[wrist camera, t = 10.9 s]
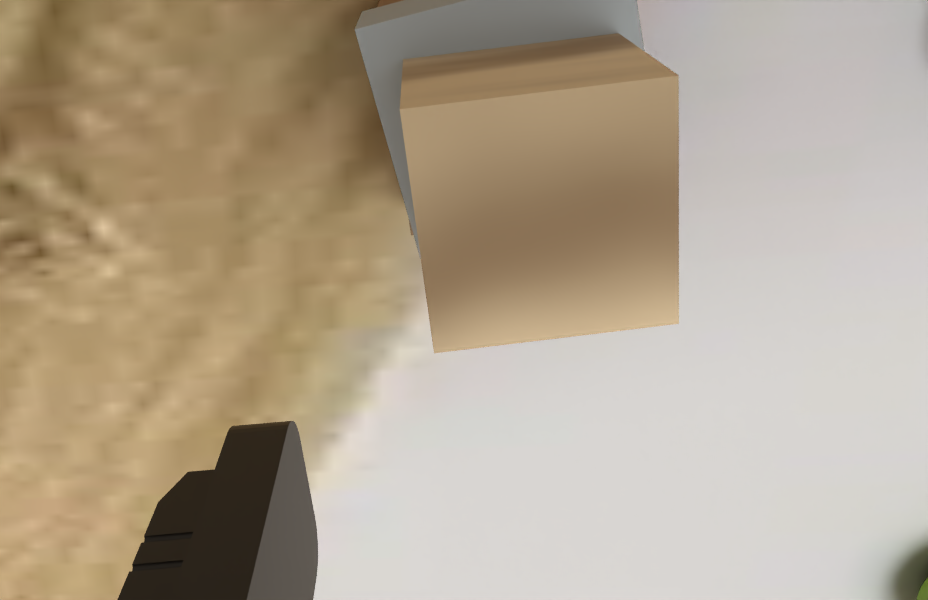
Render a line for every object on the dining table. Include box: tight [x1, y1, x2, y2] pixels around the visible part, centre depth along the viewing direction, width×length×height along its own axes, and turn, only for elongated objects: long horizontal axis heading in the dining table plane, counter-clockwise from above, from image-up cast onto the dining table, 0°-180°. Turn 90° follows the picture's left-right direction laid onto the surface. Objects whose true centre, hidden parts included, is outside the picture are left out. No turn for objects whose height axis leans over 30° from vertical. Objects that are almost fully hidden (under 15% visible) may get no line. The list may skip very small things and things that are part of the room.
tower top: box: [354, 0, 644, 259], centre depth 24 cm, size 7×7×4 cm
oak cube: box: [400, 33, 679, 353], centre depth 21 cm, size 6×6×6 cm
